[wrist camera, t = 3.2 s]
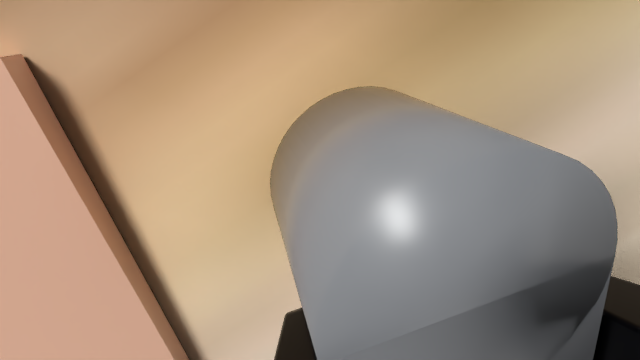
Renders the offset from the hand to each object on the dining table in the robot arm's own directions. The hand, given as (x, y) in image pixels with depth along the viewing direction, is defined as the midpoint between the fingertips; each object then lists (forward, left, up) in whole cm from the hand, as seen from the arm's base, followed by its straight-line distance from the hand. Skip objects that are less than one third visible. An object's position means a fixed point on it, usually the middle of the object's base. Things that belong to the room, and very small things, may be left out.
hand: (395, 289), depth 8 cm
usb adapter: (0, 0, -1) cm, 1 cm away
